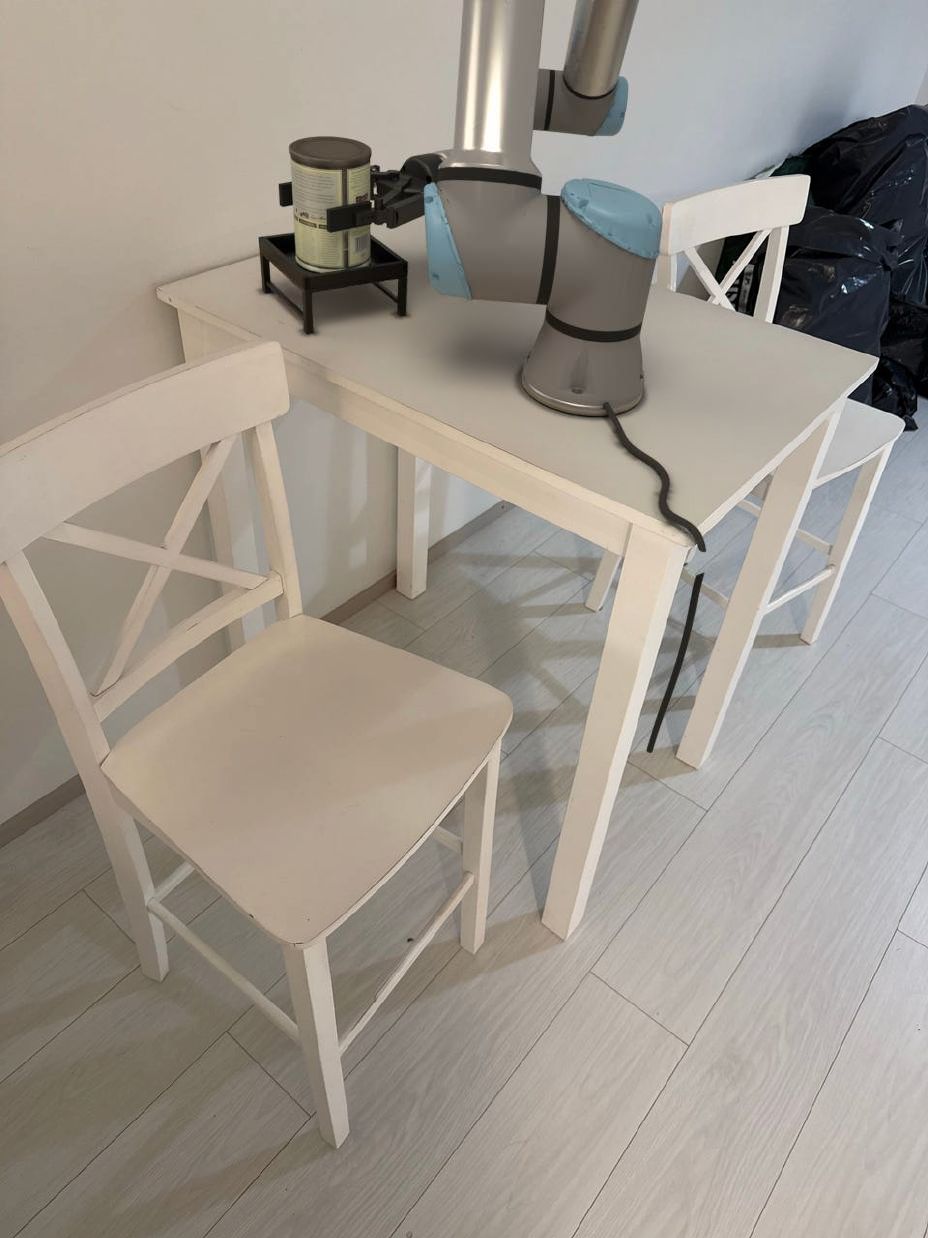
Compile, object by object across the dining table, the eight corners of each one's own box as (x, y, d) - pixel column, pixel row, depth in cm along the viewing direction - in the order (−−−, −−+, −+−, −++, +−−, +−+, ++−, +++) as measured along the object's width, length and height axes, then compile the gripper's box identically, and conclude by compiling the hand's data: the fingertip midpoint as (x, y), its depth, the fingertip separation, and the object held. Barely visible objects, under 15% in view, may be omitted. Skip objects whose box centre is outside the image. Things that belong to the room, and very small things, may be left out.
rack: (406, 315, 126) (408, 261, 121) (306, 334, 119) (304, 277, 114) (357, 275, 135) (357, 223, 130) (262, 290, 128) (258, 236, 123)
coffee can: (304, 242, 127) (299, 131, 118) (376, 250, 127) (378, 140, 117) (286, 270, 119) (279, 154, 110) (363, 278, 119) (363, 163, 110)
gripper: (488, 234, 124) (357, 267, 113) (386, 186, 136) (258, 211, 124) (493, 176, 119) (356, 203, 107) (387, 131, 131) (253, 151, 119)
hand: (303, 207), depth 116 cm, fingers closed on coffee can, 10 cm apart
